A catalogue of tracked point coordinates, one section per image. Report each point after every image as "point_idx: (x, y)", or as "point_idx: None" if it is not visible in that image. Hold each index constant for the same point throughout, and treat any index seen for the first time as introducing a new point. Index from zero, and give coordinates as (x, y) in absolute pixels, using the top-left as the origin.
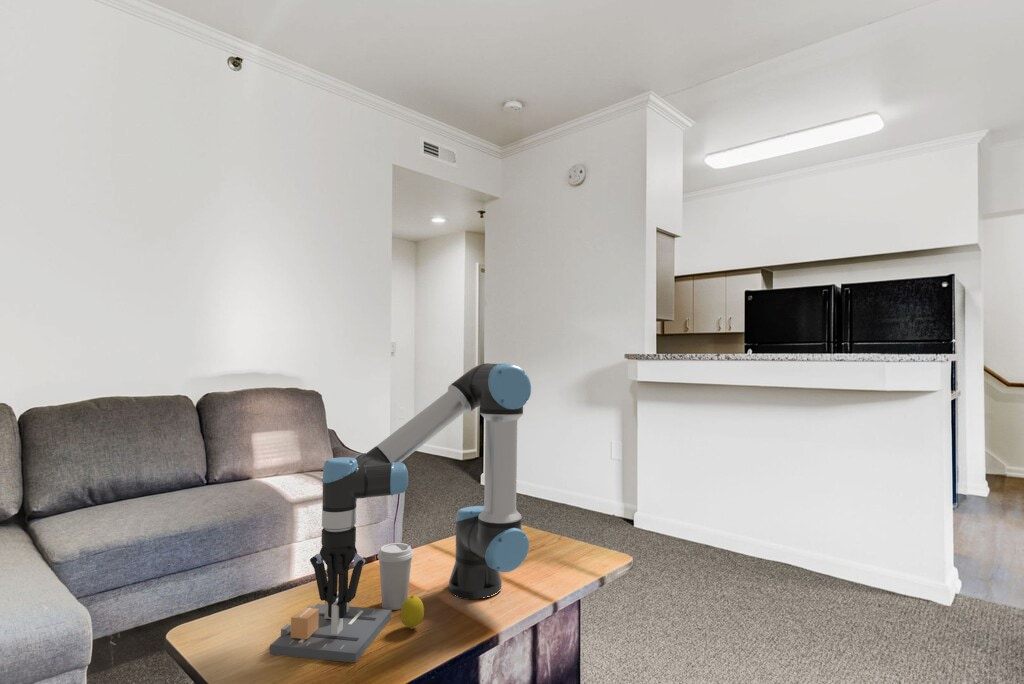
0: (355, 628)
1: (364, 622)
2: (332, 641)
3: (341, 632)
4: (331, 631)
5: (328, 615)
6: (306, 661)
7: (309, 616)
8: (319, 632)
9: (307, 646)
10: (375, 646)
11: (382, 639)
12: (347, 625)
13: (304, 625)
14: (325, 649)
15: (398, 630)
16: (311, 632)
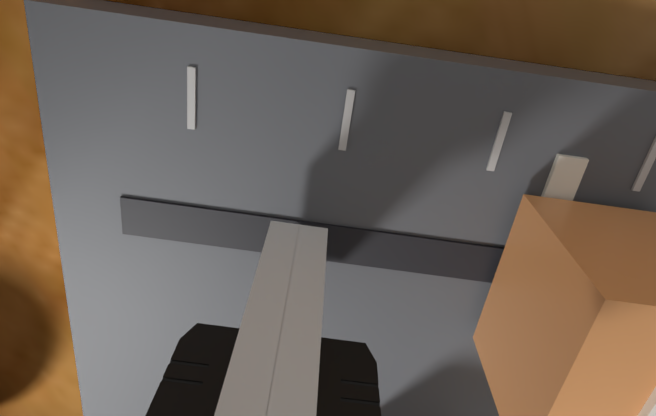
0: None
1: None
2: (309, 185)
3: None
4: (324, 239)
5: (370, 358)
6: (460, 2)
7: (591, 346)
8: (452, 303)
9: (494, 101)
10: (49, 218)
11: (50, 293)
12: None
13: (603, 257)
14: (321, 57)
15: (13, 378)
16: (508, 265)
